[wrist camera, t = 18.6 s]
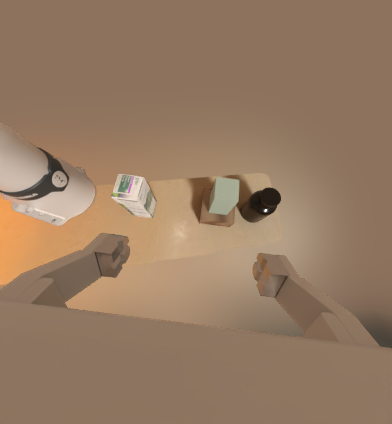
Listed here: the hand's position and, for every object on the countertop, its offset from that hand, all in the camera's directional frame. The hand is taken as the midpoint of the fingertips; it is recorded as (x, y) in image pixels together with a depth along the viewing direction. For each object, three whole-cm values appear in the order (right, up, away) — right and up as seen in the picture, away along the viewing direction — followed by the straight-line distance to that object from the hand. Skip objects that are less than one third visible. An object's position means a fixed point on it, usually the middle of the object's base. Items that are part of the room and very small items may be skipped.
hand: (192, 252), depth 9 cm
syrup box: (-15, +4, +36) cm, 39 cm away
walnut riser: (+6, +3, +36) cm, 37 cm away
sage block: (+6, +4, +31) cm, 32 cm away
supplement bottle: (+17, +2, +37) cm, 41 cm away
